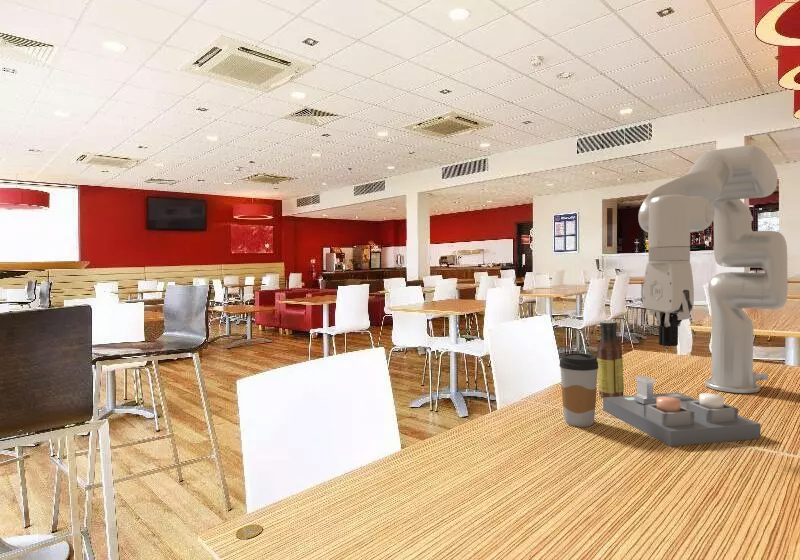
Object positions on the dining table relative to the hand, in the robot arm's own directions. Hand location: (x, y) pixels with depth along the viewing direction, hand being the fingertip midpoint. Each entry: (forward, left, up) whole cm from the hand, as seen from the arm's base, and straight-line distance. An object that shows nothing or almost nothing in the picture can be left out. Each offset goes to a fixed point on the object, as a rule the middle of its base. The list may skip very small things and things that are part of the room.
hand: (668, 345), depth 105 cm
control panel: (-6, -6, -19) cm, 21 cm away
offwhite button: (-10, 0, -14) cm, 17 cm away
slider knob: (-3, -12, -15) cm, 20 cm away
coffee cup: (+14, -11, -19) cm, 26 cm away
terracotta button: (0, 0, -14) cm, 14 cm away
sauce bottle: (-4, -28, -19) cm, 34 cm away
